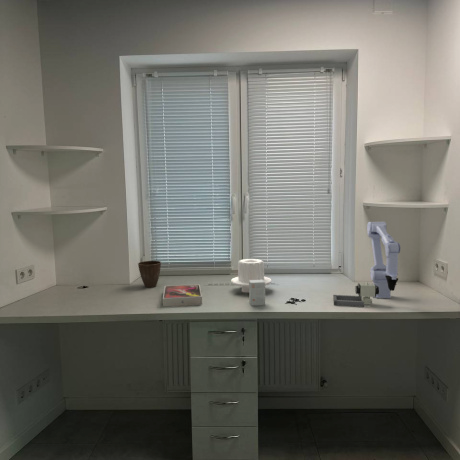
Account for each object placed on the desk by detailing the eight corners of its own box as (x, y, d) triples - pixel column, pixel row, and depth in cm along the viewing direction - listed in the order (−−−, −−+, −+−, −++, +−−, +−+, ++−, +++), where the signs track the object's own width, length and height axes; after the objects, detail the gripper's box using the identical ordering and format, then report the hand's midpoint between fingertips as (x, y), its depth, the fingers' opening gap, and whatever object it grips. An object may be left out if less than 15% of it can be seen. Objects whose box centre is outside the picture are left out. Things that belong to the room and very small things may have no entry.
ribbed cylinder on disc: (226, 294, 234) (225, 263, 232) (237, 284, 258) (237, 256, 255) (266, 297, 226) (266, 265, 224) (274, 286, 250) (274, 258, 248)
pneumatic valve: (378, 305, 208) (379, 283, 206) (356, 304, 209) (356, 283, 208) (376, 302, 213) (377, 281, 212) (354, 301, 215) (355, 280, 214)
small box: (263, 301, 218) (263, 279, 216) (265, 305, 211) (265, 282, 210) (249, 302, 217) (248, 279, 215) (250, 305, 210) (250, 282, 209)
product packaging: (199, 292, 242) (199, 284, 242) (202, 305, 215) (202, 296, 214) (165, 293, 240) (164, 285, 239) (162, 307, 212) (162, 298, 211)
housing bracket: (361, 300, 218) (361, 296, 217) (363, 306, 206) (364, 302, 206) (333, 298, 221) (333, 294, 221) (333, 305, 209) (334, 300, 209)
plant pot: (135, 288, 250) (134, 264, 249) (144, 283, 265) (143, 260, 263) (157, 289, 248) (156, 265, 246) (165, 283, 262) (164, 260, 261)
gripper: (381, 262, 214) (381, 286, 215) (386, 267, 200) (385, 292, 201) (395, 262, 212) (394, 286, 214) (400, 267, 198) (400, 293, 200)
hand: (391, 289), depth 208 cm, fingers open, 3 cm apart
